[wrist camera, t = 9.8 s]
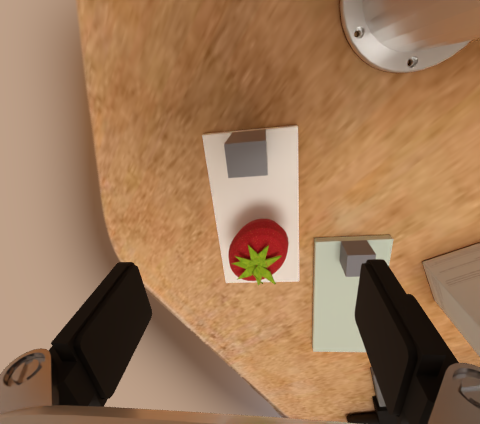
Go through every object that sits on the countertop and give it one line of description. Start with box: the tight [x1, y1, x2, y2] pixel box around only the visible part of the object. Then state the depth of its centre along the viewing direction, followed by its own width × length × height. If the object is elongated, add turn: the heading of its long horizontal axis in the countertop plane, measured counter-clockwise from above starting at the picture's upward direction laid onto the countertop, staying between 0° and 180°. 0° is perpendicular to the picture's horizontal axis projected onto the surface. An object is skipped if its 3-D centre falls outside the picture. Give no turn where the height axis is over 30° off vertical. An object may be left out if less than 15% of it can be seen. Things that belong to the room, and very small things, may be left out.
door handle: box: [347, 367, 398, 424], centre depth 44 cm, size 3×20×16 cm
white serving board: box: [202, 125, 299, 283], centre depth 29 cm, size 20×10×7 cm, turn 6°
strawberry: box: [228, 219, 289, 285], centre depth 29 cm, size 6×8×10 cm
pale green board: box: [312, 235, 393, 352], centre depth 35 cm, size 20×9×4 cm, turn 6°
